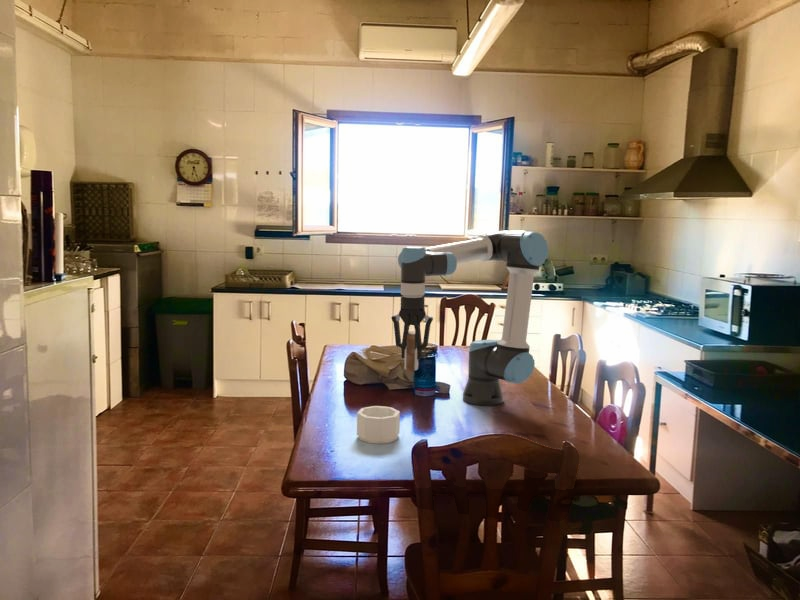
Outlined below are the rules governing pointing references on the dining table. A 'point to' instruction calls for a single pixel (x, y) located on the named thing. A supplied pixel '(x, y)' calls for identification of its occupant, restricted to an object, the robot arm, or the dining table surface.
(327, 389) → the dining table surface
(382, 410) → the white short hollow cylinder
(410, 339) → the brown rectangular block
